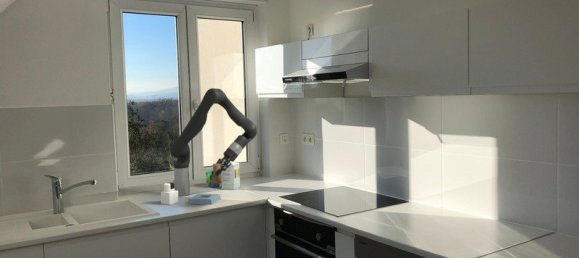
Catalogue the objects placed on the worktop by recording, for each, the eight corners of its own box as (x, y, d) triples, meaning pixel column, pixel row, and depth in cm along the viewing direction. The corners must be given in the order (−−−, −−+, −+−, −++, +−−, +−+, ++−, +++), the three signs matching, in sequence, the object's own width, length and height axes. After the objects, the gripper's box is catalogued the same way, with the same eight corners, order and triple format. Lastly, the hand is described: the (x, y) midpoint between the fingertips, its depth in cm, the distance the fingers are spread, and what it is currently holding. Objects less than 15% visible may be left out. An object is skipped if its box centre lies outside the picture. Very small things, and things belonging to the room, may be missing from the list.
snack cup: (214, 183, 344) (214, 169, 343) (227, 185, 339) (226, 170, 338) (200, 188, 330) (200, 173, 330) (213, 189, 325) (212, 174, 324)
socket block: (188, 203, 284) (188, 198, 284) (198, 198, 298) (198, 193, 297) (211, 204, 281) (211, 199, 281) (220, 199, 294) (220, 194, 294)
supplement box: (234, 190, 321) (233, 164, 319) (221, 189, 323) (220, 164, 322) (240, 187, 330) (239, 162, 328) (227, 186, 333) (227, 162, 331)
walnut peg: (212, 184, 275) (211, 164, 274) (215, 182, 280) (214, 163, 279) (220, 184, 274) (219, 164, 273) (223, 182, 278) (222, 163, 278)
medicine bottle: (169, 201, 292) (168, 181, 291) (178, 202, 288) (177, 182, 287) (160, 203, 286) (160, 183, 285) (169, 205, 282) (169, 184, 281)
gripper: (223, 146, 285) (204, 169, 280) (234, 148, 273) (214, 172, 268) (232, 154, 288) (213, 177, 283) (243, 157, 276) (224, 180, 271)
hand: (214, 174), depth 275 cm, fingers closed on walnut peg, 4 cm apart
